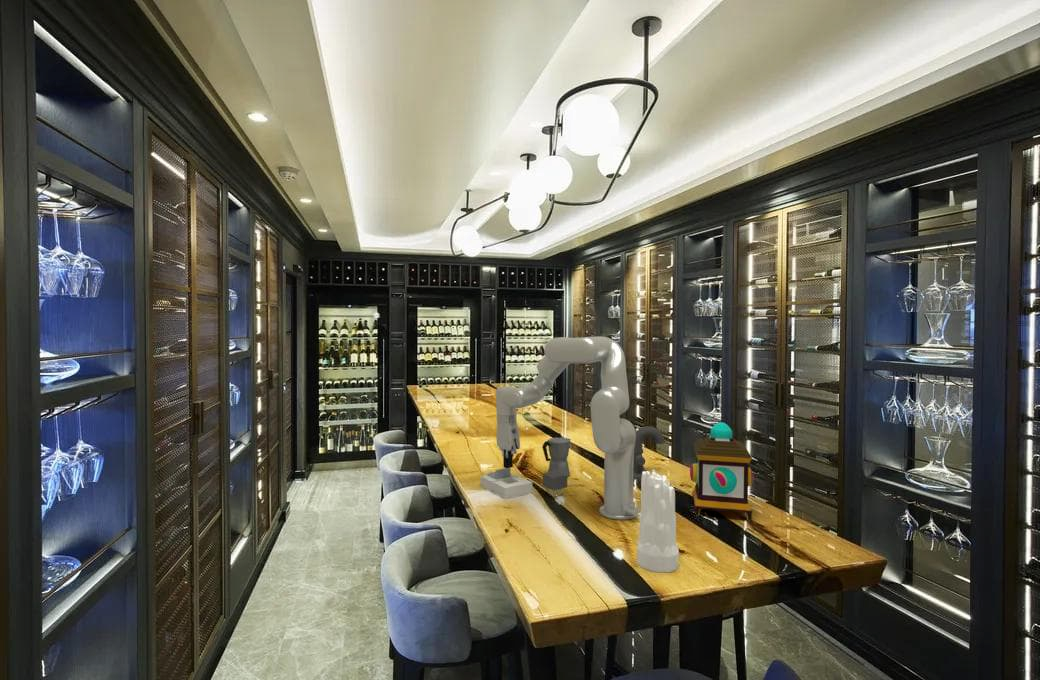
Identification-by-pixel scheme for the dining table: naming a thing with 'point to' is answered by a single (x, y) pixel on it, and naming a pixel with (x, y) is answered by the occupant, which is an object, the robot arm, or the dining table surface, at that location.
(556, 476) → the plug
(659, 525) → the decorative vase
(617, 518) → the robot arm
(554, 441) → the coffeepot
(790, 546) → the dining table surface
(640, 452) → the faucet
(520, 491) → the socket
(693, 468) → the decorative lantern
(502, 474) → the plate
